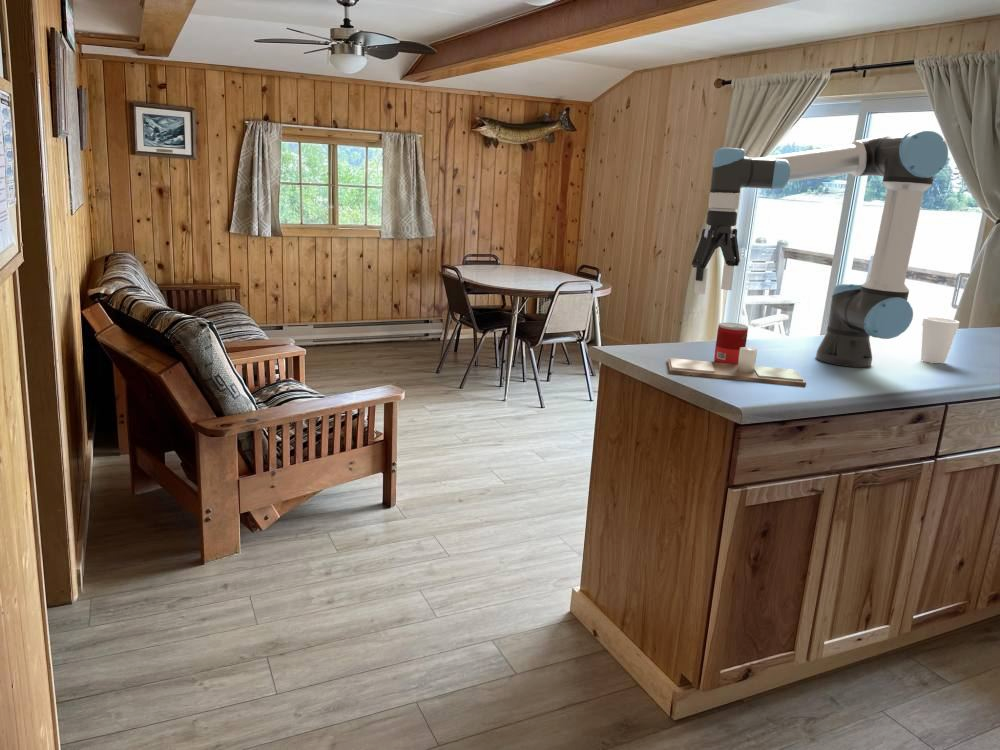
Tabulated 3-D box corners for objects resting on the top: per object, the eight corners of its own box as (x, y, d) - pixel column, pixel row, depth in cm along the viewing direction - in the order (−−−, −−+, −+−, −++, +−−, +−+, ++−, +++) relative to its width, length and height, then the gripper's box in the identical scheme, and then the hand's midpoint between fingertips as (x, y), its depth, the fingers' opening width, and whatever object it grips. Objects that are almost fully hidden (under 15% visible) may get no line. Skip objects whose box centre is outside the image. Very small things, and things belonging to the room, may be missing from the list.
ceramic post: (752, 369, 200) (756, 347, 198) (755, 373, 196) (758, 351, 194) (735, 368, 201) (739, 346, 199) (738, 372, 196) (741, 349, 195)
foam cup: (948, 361, 230) (957, 319, 227) (952, 366, 222) (961, 324, 219) (914, 356, 234) (922, 315, 231) (916, 362, 226) (924, 320, 222)
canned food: (744, 367, 206) (749, 328, 203) (714, 364, 207) (719, 326, 205) (741, 361, 213) (746, 324, 210) (712, 358, 215) (717, 321, 212)
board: (794, 373, 203) (795, 368, 203) (805, 386, 190) (806, 381, 189) (667, 361, 208) (668, 356, 208) (669, 373, 195) (670, 368, 195)
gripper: (733, 209, 204) (724, 286, 210) (683, 209, 187) (674, 292, 193) (759, 211, 199) (749, 290, 205) (710, 210, 182) (700, 296, 188)
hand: (713, 291), depth 199 cm, fingers open, 13 cm apart
